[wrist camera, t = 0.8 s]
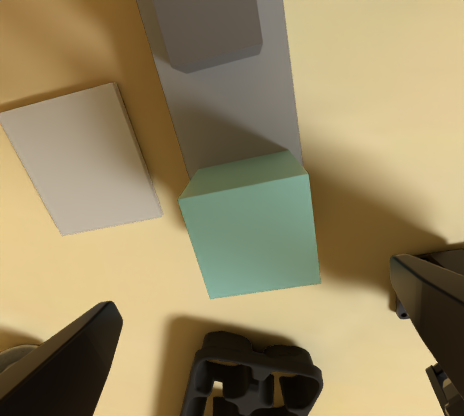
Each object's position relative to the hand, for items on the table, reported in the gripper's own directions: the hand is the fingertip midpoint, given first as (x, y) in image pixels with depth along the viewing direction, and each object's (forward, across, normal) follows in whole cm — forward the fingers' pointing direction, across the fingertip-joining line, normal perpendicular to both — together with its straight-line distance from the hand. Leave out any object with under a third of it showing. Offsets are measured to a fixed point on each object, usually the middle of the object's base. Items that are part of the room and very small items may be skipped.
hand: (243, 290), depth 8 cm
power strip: (+12, 0, -4) cm, 13 cm away
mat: (+12, +12, -4) cm, 17 cm away
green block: (+11, 0, 0) cm, 11 cm away
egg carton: (+13, +8, +29) cm, 33 cm away
